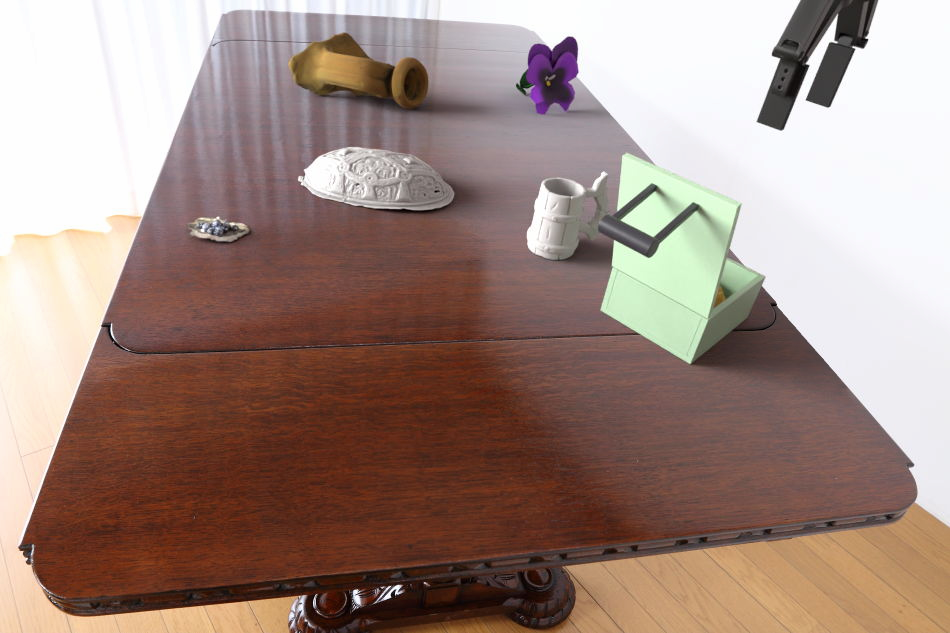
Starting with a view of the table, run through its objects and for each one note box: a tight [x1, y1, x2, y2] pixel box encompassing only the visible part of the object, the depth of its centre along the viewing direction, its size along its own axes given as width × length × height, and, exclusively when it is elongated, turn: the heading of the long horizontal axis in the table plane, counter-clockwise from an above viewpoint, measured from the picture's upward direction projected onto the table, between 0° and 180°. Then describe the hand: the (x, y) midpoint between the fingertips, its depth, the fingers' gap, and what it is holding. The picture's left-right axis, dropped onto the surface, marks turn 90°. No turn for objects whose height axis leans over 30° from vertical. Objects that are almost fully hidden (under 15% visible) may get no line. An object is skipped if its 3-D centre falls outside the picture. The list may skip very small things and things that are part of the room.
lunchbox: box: [600, 257, 766, 365], centre depth 89 cm, size 16×14×7 cm
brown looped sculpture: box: [288, 31, 429, 110], centre depth 137 cm, size 18×13×22 cm
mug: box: [526, 171, 610, 261], centre depth 98 cm, size 8×12×12 cm, turn 106°
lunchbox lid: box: [598, 152, 743, 319], centre depth 73 cm, size 16×14×10 cm
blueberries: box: [187, 216, 251, 243], centre depth 93 cm, size 7×8×2 cm
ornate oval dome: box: [297, 146, 455, 211], centre depth 108 cm, size 16×25×7 cm, turn 84°
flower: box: [515, 36, 580, 115], centre depth 149 cm, size 15×15×14 cm
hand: (795, 114), depth 75 cm, fingers open, 13 cm apart
